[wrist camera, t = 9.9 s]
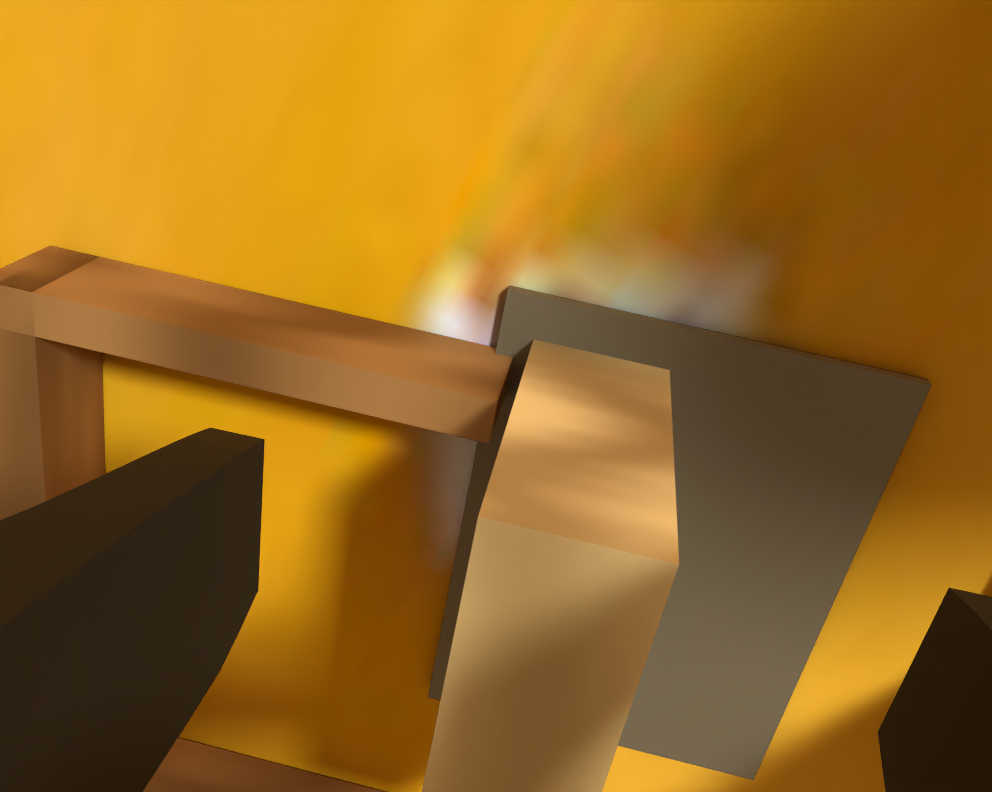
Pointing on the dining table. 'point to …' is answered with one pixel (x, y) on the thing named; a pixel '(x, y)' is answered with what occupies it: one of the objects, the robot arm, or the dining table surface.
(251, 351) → the rack
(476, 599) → the tan wooden block
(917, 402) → the mat
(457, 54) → the dining table surface
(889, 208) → the dining table surface
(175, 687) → the robot arm
